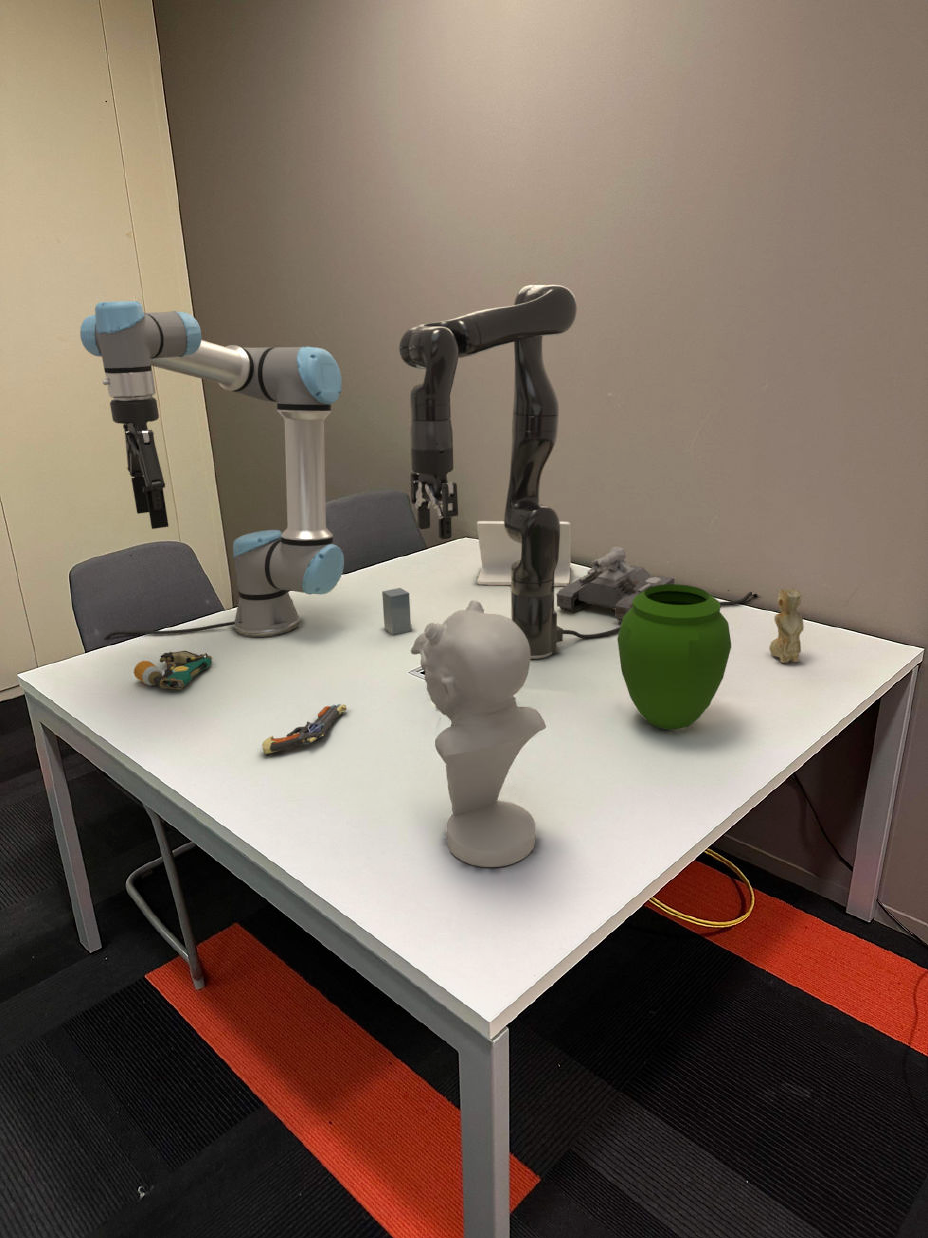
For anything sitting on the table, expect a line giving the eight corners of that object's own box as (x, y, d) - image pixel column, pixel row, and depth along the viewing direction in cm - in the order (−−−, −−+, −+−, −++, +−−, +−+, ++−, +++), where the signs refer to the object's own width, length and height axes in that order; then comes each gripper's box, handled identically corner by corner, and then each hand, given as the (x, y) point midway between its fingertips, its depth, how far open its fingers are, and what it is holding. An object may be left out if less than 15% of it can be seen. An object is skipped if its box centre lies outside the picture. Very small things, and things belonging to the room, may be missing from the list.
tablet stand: (569, 585, 229) (570, 524, 223) (476, 584, 232) (475, 523, 226) (570, 566, 246) (571, 508, 240) (484, 564, 249) (483, 507, 243)
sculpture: (791, 651, 184) (798, 585, 178) (805, 664, 177) (813, 596, 172) (764, 652, 183) (771, 586, 178) (777, 666, 177) (784, 597, 171)
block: (402, 625, 205) (400, 587, 202) (411, 631, 202) (409, 592, 198) (384, 629, 203) (382, 591, 200) (392, 635, 199) (390, 596, 196)
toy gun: (257, 744, 147) (311, 741, 145) (297, 702, 165) (346, 699, 162) (260, 758, 147) (314, 756, 145) (300, 715, 165) (349, 712, 163)
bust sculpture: (481, 772, 140) (476, 569, 128) (565, 848, 120) (569, 617, 108) (392, 800, 134) (378, 588, 121) (465, 886, 114) (457, 642, 101)
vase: (737, 711, 158) (749, 586, 150) (704, 757, 143) (715, 621, 134) (638, 689, 168) (643, 571, 160) (597, 730, 153) (601, 602, 144)
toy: (603, 584, 229) (605, 530, 224) (673, 597, 218) (677, 540, 213) (555, 612, 210) (556, 553, 205) (630, 627, 199) (633, 566, 194)
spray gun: (177, 659, 191) (231, 671, 185) (120, 684, 176) (176, 698, 171) (176, 641, 190) (230, 653, 184) (118, 665, 175) (174, 678, 169)
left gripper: (98, 393, 154) (118, 509, 161) (122, 406, 133) (143, 537, 141) (141, 390, 157) (159, 503, 164) (171, 402, 137) (189, 530, 144)
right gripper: (395, 441, 156) (399, 528, 162) (431, 452, 144) (434, 545, 150) (432, 438, 159) (435, 522, 165) (469, 448, 148) (471, 539, 153)
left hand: (152, 519), depth 153 cm, fingers open, 13 cm apart
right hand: (434, 533), depth 157 cm, fingers open, 8 cm apart
